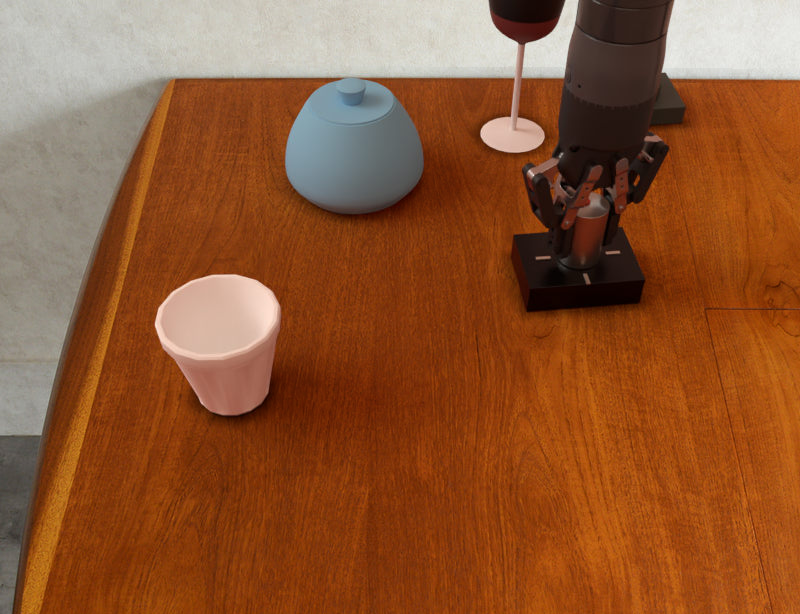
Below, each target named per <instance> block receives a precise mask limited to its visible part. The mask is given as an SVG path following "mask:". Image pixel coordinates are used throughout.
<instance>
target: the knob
mask: <svg viewBox="0 0 800 614" xmlns="http://www.w3.org/2000/svg"><path fill="white" fill-rule="evenodd" d="M565 207H566V203H565V205H564V208H563V209H564V210H565ZM609 210H610V204H609V202H608V201H607V199H606V198H604V197H603V196H601V194H600V193H596V192H594V191H592V192H591V193H590V195H589V198H588V200H587V202H586V205H585V207H584V208H580V209H579V211H578V213H577V215H576V218H575V220H574V222H573V225H572V226H573V233H572V239H571V244H570V250H569V256H568V257H567V258H563V259H559V258H558V259H559V261H560V262H561V263H562V264H564V265H565V266H567V267H570V268H573V269H588V268H591V267H593V266H594V265H596V264H597V262H598V261H599V257H600V252H601V247H602V243H603V238H604V233H605V229H606V224H607V219H608V214H609Z"/></svg>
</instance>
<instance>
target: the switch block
mask: <svg viewBox="0 0 800 614" xmlns="http://www.w3.org/2000/svg"><path fill="white" fill-rule="evenodd" d="M686 109H687V106H686V104H685V102H684V101H683V99H682V97H681V96H680V94H679V92H678V91H677V89H676V88H675V86H674V84H673V82H672V81H671V79H670V77H669V76H668V74H667V73H666V72H662V73H661V78H660V82H659V87H658V91H657V95H656V100H655V104H654V109H653V113H652V117H651V122H650V126H658V125H659V126H660V125H674V124H683V121H684V117H685V113H686Z"/></svg>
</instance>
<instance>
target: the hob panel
mask: <svg viewBox="0 0 800 614" xmlns="http://www.w3.org/2000/svg"><path fill="white" fill-rule="evenodd" d="M547 238H548V231H541V232H527V233H514V234H513V235H512V244H511V252H510V261H511V264H512V268H513V270H514V274H515V278H516V280H517V284H518V288H519V291H520V294H521V298H522V301H523V304H524V307H525V311H526V313H533V312H544V311H546V312H547V311H557V310H559V311H560V310H570V309H582V308H594V307H595V308H596V307H608V306H621V305H632V304H640V302H641V298H642V295H643V291H644V287H645V284H646V277H645V275H644V273H643V270H642V268H641V266H640V263H639V261H638V259H637V257H636V253H635V252H634V250H633V248H632V246H631V243H630V241H629V238H628V236H627V234H626V232H625V229H624V227H623V226H618V230H617V234H616V236H615V237H614V238H613V239H612V243H611V245H608V246H604V247H603V246H602V247H601V252H600V257H599V261H598V262H597V264H596V265H594V266H593V267H591V268H588V269H573V268H570V267H567V266H565V265H564V264H562V263H561V262H560V261H559V259H558V257H557V256H556V255H555V254H554V253H553V252H552V251H551V249H550V248H549V247H548V245H547Z"/></svg>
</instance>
